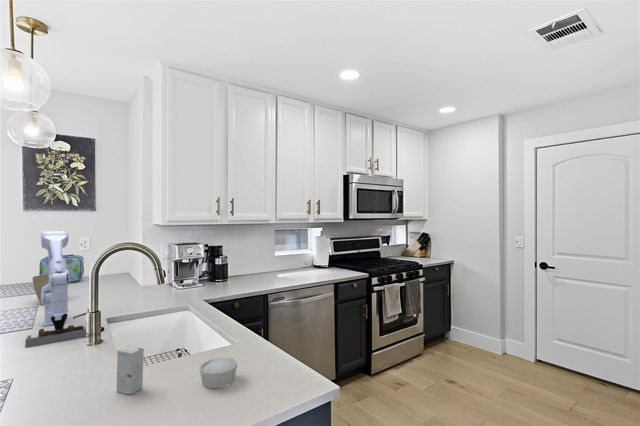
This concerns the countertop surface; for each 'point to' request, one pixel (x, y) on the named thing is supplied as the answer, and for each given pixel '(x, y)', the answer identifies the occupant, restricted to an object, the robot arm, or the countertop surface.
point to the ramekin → (218, 372)
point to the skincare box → (129, 369)
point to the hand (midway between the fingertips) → (59, 332)
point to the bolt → (59, 330)
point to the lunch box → (72, 264)
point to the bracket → (54, 338)
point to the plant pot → (40, 284)
